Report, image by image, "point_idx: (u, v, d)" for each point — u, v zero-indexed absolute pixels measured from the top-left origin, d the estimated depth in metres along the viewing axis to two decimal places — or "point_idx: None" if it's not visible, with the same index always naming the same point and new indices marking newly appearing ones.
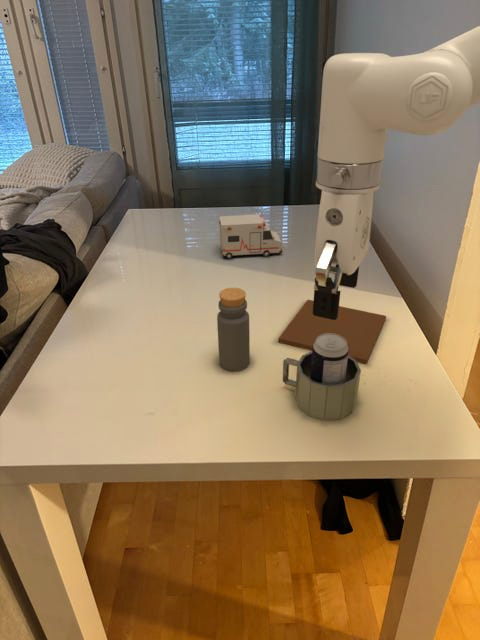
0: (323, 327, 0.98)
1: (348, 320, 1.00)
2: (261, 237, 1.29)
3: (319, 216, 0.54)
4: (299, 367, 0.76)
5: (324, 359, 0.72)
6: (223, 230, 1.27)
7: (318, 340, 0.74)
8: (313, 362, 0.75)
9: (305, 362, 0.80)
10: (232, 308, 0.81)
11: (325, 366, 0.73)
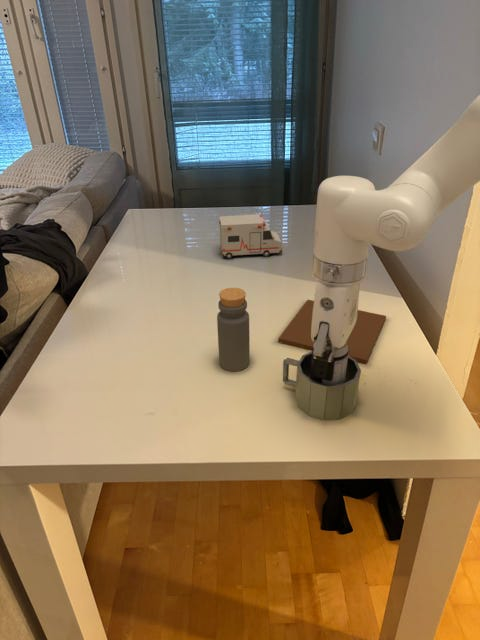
0: None
1: None
2: (261, 237, 1.29)
3: (314, 302, 0.66)
4: (299, 367, 0.76)
5: None
6: (223, 230, 1.27)
7: None
8: (313, 362, 0.75)
9: (305, 362, 0.80)
10: (232, 308, 0.81)
11: None
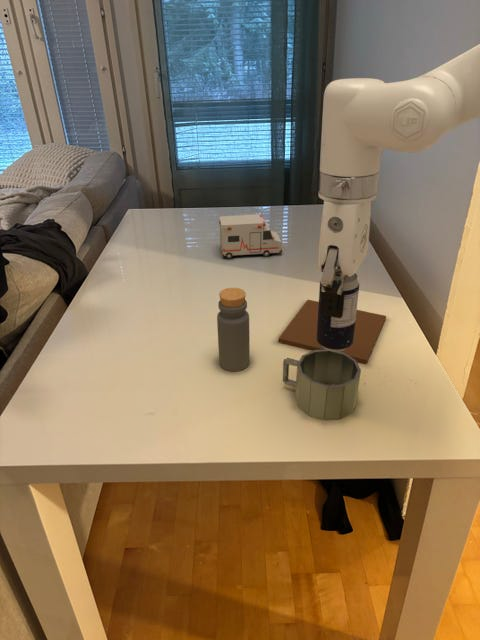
0: None
1: None
2: (261, 237, 1.29)
3: (322, 224, 0.60)
4: (299, 367, 0.76)
5: None
6: (223, 230, 1.27)
7: None
8: None
9: (305, 362, 0.80)
10: (232, 308, 0.81)
11: None
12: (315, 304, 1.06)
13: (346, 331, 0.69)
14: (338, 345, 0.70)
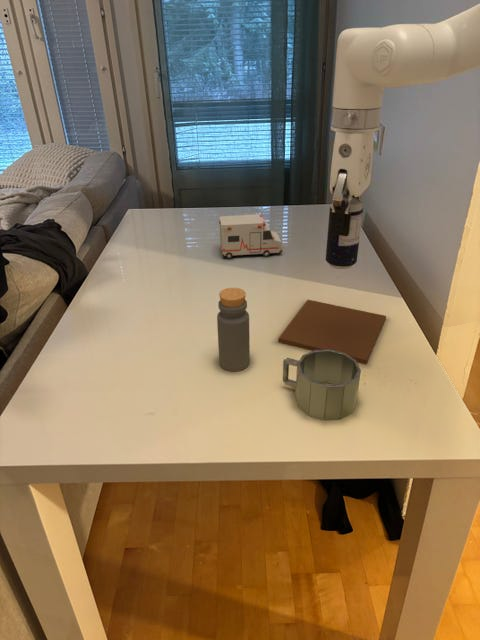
0: (323, 327, 0.98)
1: (348, 320, 1.00)
2: (261, 237, 1.29)
3: (334, 151, 0.73)
4: (299, 367, 0.76)
5: None
6: (223, 230, 1.27)
7: None
8: (330, 222, 0.82)
9: (305, 362, 0.80)
10: (232, 308, 0.81)
11: None
12: (315, 304, 1.06)
13: (351, 250, 0.82)
14: (344, 262, 0.83)
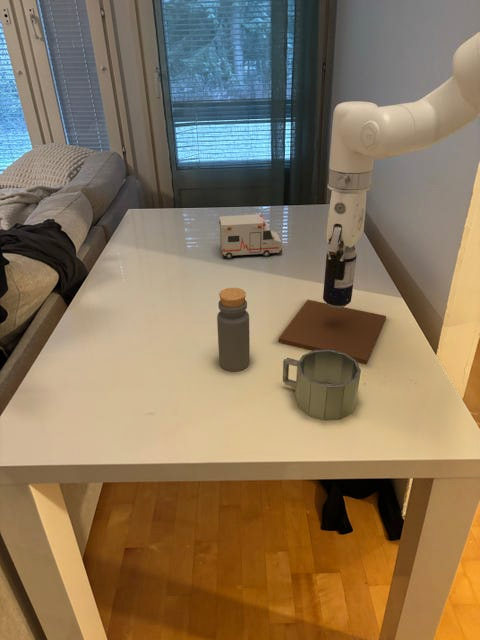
0: (323, 327, 0.98)
1: (348, 320, 1.00)
2: (261, 237, 1.29)
3: (330, 207, 0.82)
4: (299, 367, 0.76)
5: None
6: (223, 230, 1.27)
7: None
8: (327, 266, 0.90)
9: (305, 362, 0.80)
10: (232, 308, 0.81)
11: None
12: (315, 304, 1.06)
13: (346, 291, 0.91)
14: (339, 302, 0.92)
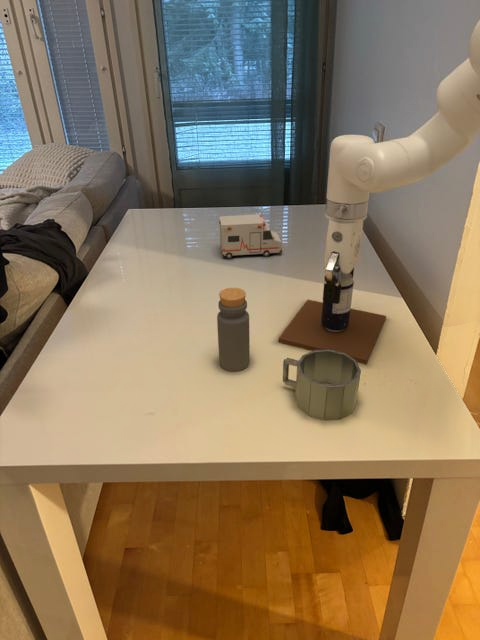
0: (323, 327, 0.98)
1: None
2: (261, 237, 1.29)
3: (327, 236, 0.84)
4: (299, 367, 0.76)
5: None
6: (223, 230, 1.27)
7: None
8: None
9: (305, 362, 0.80)
10: (232, 308, 0.81)
11: None
12: (315, 304, 1.06)
13: (343, 317, 0.94)
14: (337, 326, 0.95)
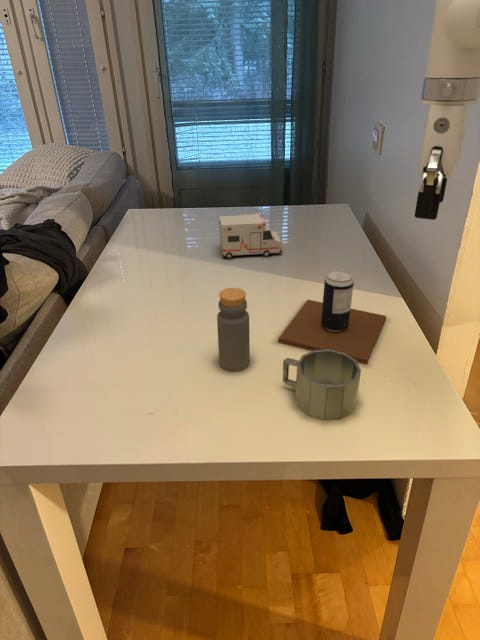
0: (323, 327, 0.98)
1: None
2: (261, 237, 1.29)
3: (427, 126, 0.66)
4: (299, 367, 0.76)
5: (334, 288, 0.91)
6: (223, 230, 1.27)
7: (329, 274, 0.92)
8: (325, 292, 0.93)
9: (305, 362, 0.80)
10: (232, 308, 0.81)
11: (335, 294, 0.91)
12: (315, 304, 1.06)
13: (343, 317, 0.94)
14: (337, 326, 0.95)
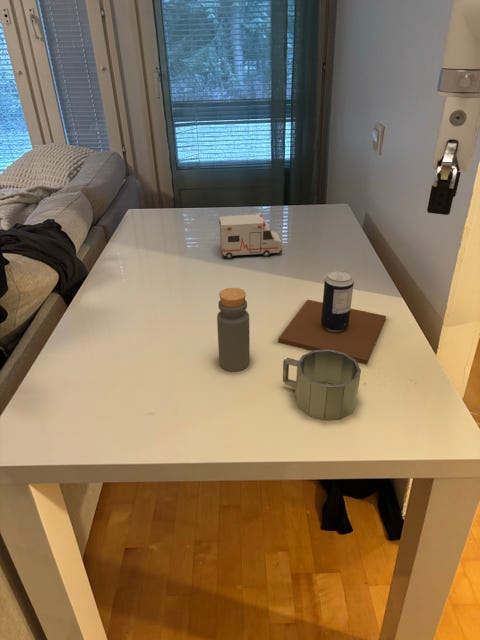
0: (323, 327, 0.98)
1: None
2: (261, 237, 1.29)
3: (443, 119, 0.64)
4: (299, 367, 0.76)
5: (334, 289, 0.91)
6: (223, 230, 1.27)
7: (329, 274, 0.92)
8: (325, 292, 0.93)
9: (305, 362, 0.80)
10: (232, 308, 0.81)
11: (335, 294, 0.91)
12: (315, 304, 1.06)
13: (343, 317, 0.94)
14: (337, 326, 0.95)
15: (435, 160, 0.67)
